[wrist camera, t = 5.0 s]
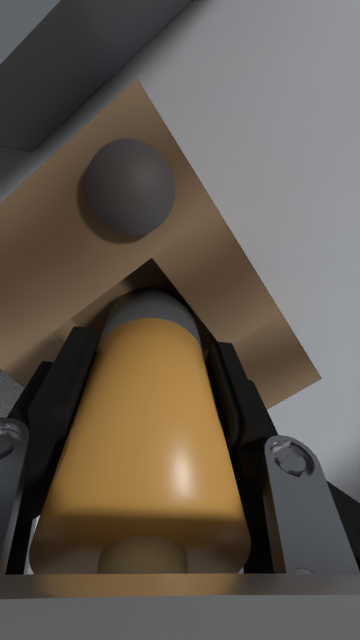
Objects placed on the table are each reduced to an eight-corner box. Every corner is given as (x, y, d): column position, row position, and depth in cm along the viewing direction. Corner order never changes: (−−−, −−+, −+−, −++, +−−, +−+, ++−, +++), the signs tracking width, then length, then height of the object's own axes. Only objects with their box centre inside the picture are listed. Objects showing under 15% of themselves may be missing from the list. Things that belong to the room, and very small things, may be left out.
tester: (291, 341, 17) (328, 386, 14) (145, 430, 19) (143, 489, 16) (141, 104, 12) (135, 71, 8) (-42, 266, 14) (-112, 300, 10)
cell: (211, 334, 14) (307, 614, 5) (144, 378, 15) (126, 681, 6) (159, 268, 12) (167, 510, 3) (87, 321, 13) (-55, 623, 4)
